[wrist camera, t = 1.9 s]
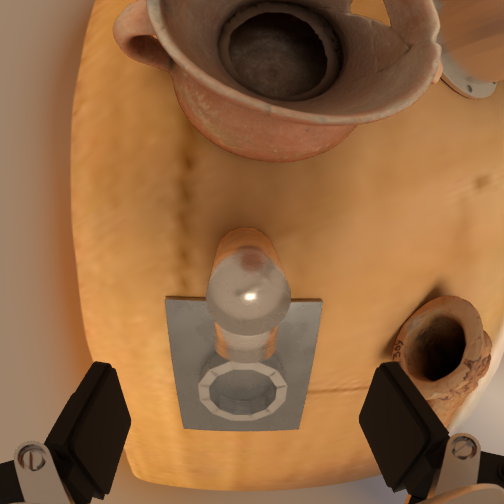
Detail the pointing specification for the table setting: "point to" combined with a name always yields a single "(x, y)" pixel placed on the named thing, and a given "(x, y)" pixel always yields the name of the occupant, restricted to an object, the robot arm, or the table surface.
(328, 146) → the ceramic jug
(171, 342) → the flange
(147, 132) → the table surface
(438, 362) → the clay pipe
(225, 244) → the grey rounded piece
